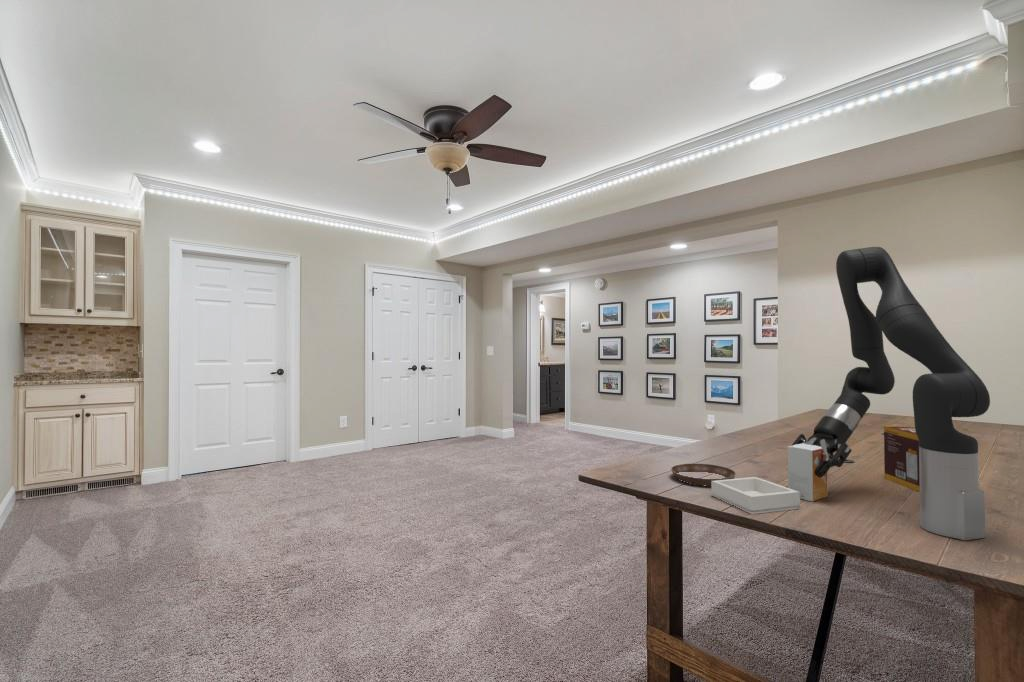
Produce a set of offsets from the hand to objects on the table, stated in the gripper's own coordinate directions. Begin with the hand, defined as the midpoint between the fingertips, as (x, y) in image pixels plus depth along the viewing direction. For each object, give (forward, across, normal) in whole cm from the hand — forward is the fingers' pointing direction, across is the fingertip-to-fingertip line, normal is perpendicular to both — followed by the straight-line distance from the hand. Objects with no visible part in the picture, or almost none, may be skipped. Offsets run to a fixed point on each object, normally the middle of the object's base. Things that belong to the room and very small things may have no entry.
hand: (803, 471), depth 124 cm
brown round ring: (+15, -21, -5) cm, 27 cm away
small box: (+4, 0, +6) cm, 7 cm away
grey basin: (+16, 0, -6) cm, 17 cm away
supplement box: (-24, +1, +34) cm, 41 cm away
